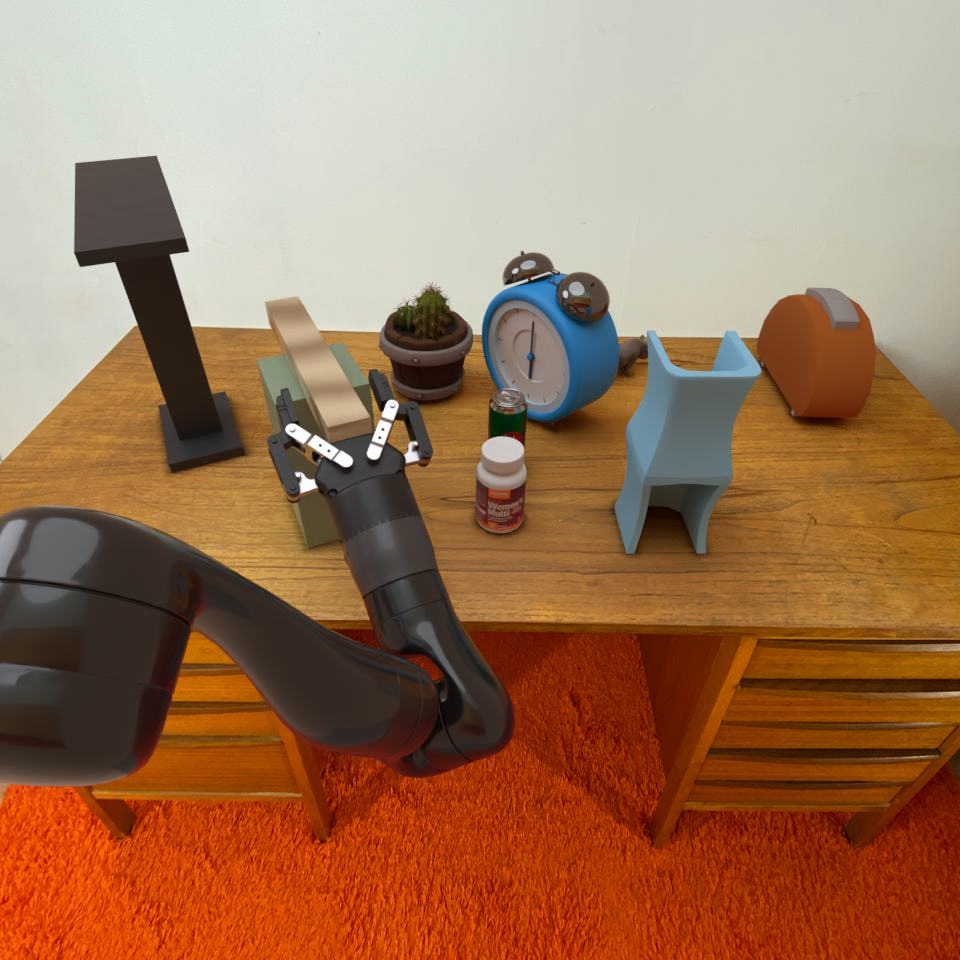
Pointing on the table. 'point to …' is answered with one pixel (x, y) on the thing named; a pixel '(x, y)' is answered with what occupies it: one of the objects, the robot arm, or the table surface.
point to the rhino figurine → (632, 353)
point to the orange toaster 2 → (819, 353)
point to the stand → (154, 298)
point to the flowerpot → (426, 348)
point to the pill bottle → (501, 485)
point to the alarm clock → (551, 338)
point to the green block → (280, 376)
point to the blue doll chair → (683, 438)
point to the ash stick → (317, 372)
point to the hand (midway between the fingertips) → (329, 382)
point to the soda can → (508, 415)
